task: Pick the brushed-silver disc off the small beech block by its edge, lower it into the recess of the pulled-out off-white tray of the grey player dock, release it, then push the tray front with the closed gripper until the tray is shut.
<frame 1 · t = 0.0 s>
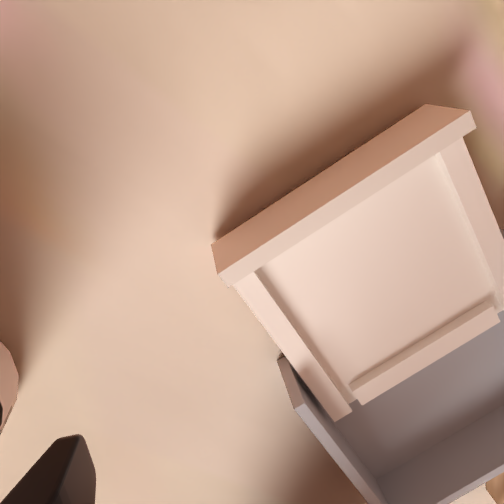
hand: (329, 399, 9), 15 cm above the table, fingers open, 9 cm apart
tray: (382, 281, 23), point 2 cm above the table, slide at 7.0 cm
housing: (424, 365, 28), on the table
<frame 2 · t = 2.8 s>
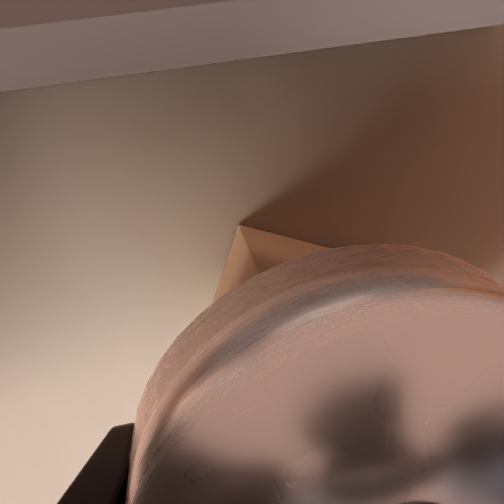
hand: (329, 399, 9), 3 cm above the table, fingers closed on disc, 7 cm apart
pedestal: (291, 318, 11), on the table
disc: (347, 438, 8), point 4 cm above the table, touching gripper, pedestal
when the fingers open (3 cm above the table, at t = 7.2 s): disc drops 2 cm, resting on tray.
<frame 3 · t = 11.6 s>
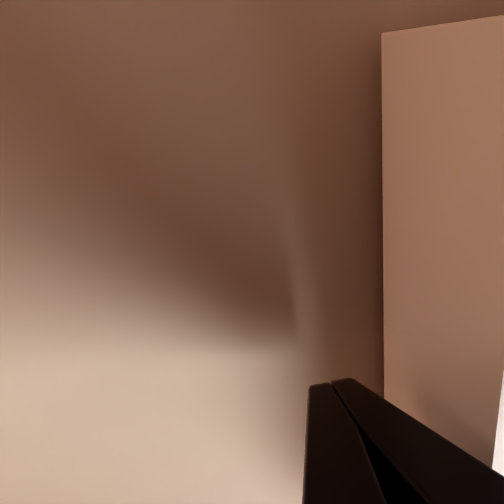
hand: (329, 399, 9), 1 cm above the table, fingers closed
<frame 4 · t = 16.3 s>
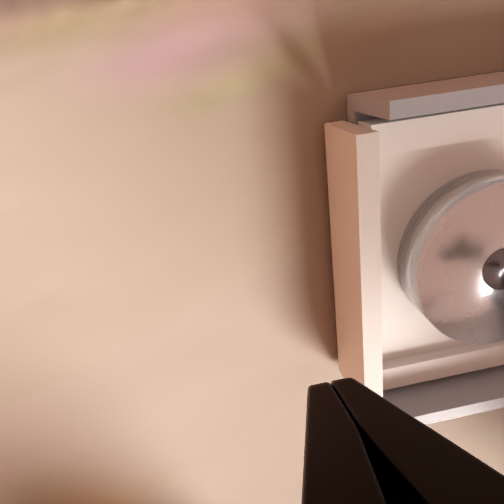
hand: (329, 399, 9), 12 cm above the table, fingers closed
tray: (477, 251, 20), point 2 cm above the table, slide at 0.0 cm, touching disc
housing: (474, 231, 22), on the table
disc: (473, 249, 20), point 2 cm above the table, touching tray
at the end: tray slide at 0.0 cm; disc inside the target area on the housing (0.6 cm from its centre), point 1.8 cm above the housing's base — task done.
